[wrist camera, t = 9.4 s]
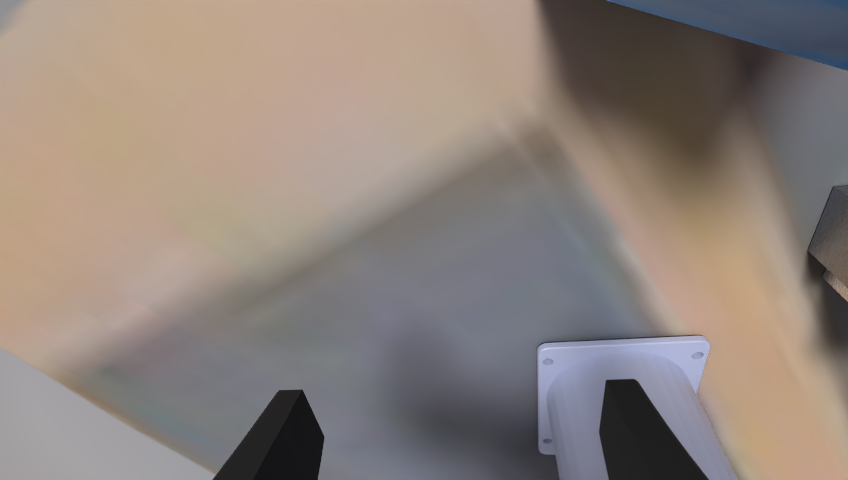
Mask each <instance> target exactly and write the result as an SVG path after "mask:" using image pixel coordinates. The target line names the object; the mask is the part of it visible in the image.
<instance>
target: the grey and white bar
mask: <svg viewBox="0 0 848 480" xmlns="http://www.w3.org/2000/svg"><path fill="white" fill-rule="evenodd" d="M808 251H809V252H810V253H811V254H812V255H813V256H814V257H815V258H816V259H817V260H818V261H819V262H820V263H822V264H823V265H824V266H825V267H826V270H825V272H824V274H823V278H824V279H825V280H826V281H827V282H828V283H829V284H830V285H831V286H832V287H833V288H834V289H835V290H836V291H837V292H838V293H839V294H840V295H841V296H842V297H843V298H844V299H845V300H846V301H847V302H848V185H843V186H834V187H833V190H832V192H831V195H830V197H829V200H828V202H827V205H826V207H825V210H824V212H823V214H822V217H821V219H820V222H819V224H818V227H817V229H816V232H815V234H814V237H813V239H812V242H811V244H810V247H809V249H808Z"/></svg>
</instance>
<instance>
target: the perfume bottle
mask: <svg viewBox="0 0 848 480" xmlns="http://www.w3.org/2000/svg"><path fill="white" fill-rule="evenodd" d="M605 1H609V2H612V3H616V4H619V5H623V6H626V7H630V8H633V9H637V10H640V11H643V12H647V13H650V14H654V15H657V16H661V17H664V18H668V19H671V20H675V21H678V22H681V23H685V24H688V25H692V26H695V27H699V28H702V29H706V30H709V31H713V32H716V33H719V34H723V35H726V36H730V37H733V38H737V39H740V40H744V41H747V42H751V43H754V44H758V45H761V46H764V47H768V48H771V49H775V50H778V51H782V52H785V53H789V54H792V55H796V56H799V57H802V58H806V59H809V60H813V61H816V62H820V63H823V64H827V65H830V66H834V67H837V68H840V69H844V70H847V71H848V0H605Z"/></svg>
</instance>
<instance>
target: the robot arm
mask: <svg viewBox="0 0 848 480" xmlns="http://www.w3.org/2000/svg"><path fill="white" fill-rule="evenodd" d="M710 347H711V344H710V343H709V341H708V339H707V338H706V337H704V336H680V337H659V338H639V339H618V340H598V341H577V342H557V343H544V344H542V345H540V346H539V347H538V348H537V394H538V447H539V452H541V453H542V454H545V455H556V461H557V467H558V473H559V479H560V480H738V478H737V476H736V474H735V472H734V470H733V468H732V466H731V464H730V462H729V460H728V458H727V456H726V454H725V452H724V450H723V448H722V446H721V444H720V442H719V440H718V438H717V436H716V434H715V432H714V430H713V428H712V426H711V423H710V421H709V419H708V417H707V415H706V413H705V411H704V409H703V407H702V405H701V403H700V401H699V399H698V397H697V395H696V394H697V391H698V387H699V384H700V381H701V377H702V374H703V371H704V367H705V364H706V361H707V357H708V354H709V351H710ZM323 443H324V435H323V433H322V431H321V429H320V426H319V424H318V422H317V420H316V418H315V416H314V414H313V411H312V409H311V407H310V405H309V403H308V401H307V398H306V396H305V394H304V392H303V390H279V391H278V392H277V393H276V395H275V396H274V398H273V399H272V400H271V402H270V403H269V404H268V406H267V407H266V409H265V410H264V411H263V413H262V414H261V416H260V417H259V418H258V420H257V421H256V422H255V424H254V425H253V427H252V428H251V429H250V431H249V432H248V433H247V435H246V436H245V438H244V439H243V440H242V442H241V443H240V444H239V446H238V447H237V448H236V450H235V451H234V452H233V454H232V455H231V456H230V458H229V459H228V460H227V461H226V463H225V464H224V465H223V467H222V468H221V469H220V471H219V472H218V473H217V475H216V476H215V477H214V479H213V480H318V474H319V468H320V463H321V456H322V450H323Z"/></svg>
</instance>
